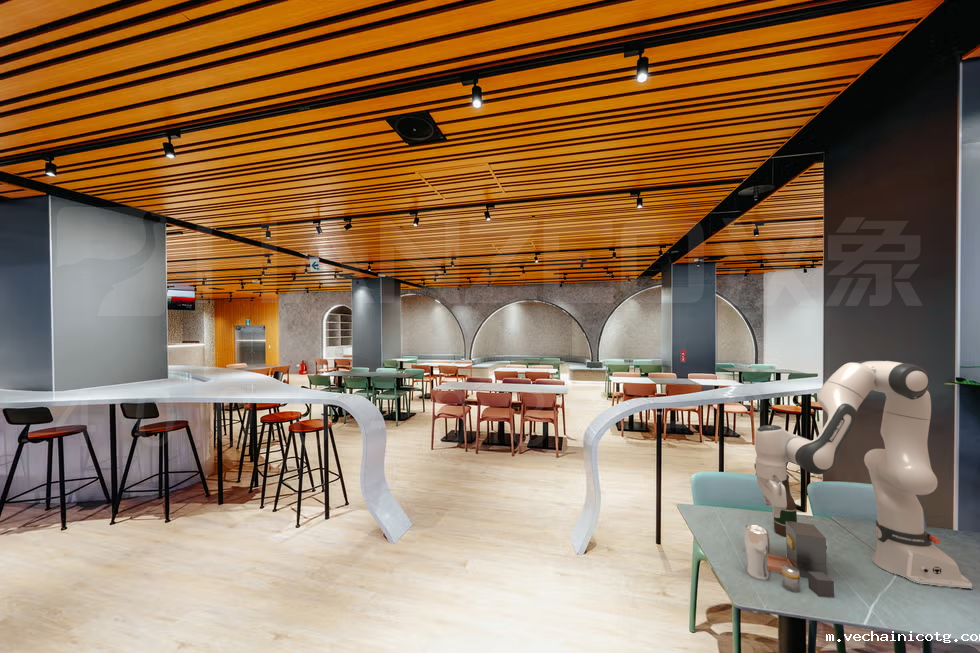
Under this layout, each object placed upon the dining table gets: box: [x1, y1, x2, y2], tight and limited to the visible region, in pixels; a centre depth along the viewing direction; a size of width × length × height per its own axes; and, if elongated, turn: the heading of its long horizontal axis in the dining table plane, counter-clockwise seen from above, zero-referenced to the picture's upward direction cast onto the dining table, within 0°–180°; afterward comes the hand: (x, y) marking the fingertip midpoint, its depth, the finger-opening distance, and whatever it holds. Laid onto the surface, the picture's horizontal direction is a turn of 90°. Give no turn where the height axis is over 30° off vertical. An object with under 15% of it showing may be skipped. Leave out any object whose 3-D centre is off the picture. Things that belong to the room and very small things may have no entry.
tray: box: [767, 554, 793, 574], centre depth 132 cm, size 8×8×2 cm
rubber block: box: [807, 571, 835, 599], centre depth 119 cm, size 4×4×5 cm
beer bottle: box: [773, 473, 798, 538], centre depth 156 cm, size 8×8×24 cm
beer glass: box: [743, 524, 771, 581], centre depth 128 cm, size 7×7×15 cm
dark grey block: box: [785, 521, 828, 579], centre depth 130 cm, size 9×10×14 cm
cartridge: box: [781, 565, 801, 593], centre depth 121 cm, size 5×5×6 cm
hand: (772, 511), depth 135 cm, fingers open, 8 cm apart
